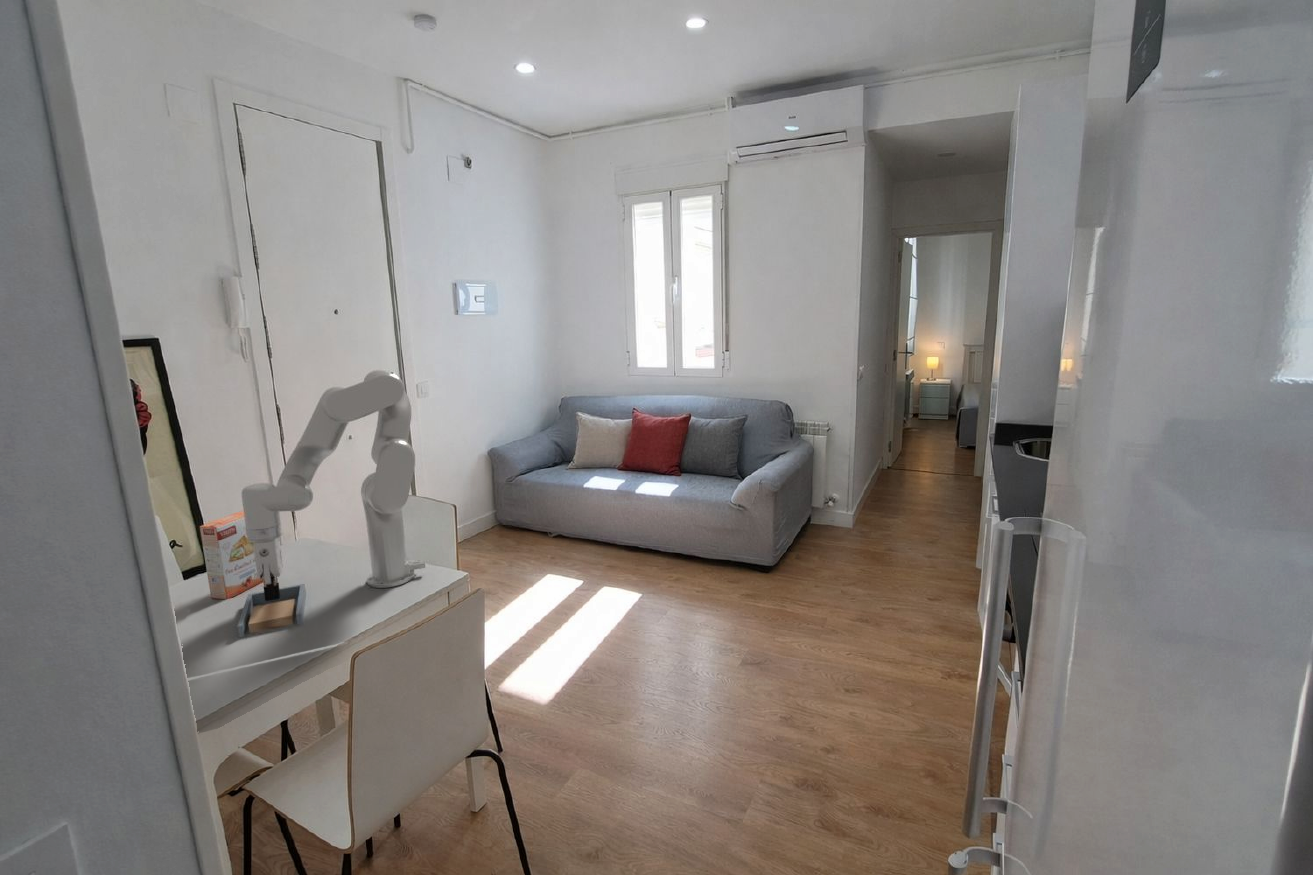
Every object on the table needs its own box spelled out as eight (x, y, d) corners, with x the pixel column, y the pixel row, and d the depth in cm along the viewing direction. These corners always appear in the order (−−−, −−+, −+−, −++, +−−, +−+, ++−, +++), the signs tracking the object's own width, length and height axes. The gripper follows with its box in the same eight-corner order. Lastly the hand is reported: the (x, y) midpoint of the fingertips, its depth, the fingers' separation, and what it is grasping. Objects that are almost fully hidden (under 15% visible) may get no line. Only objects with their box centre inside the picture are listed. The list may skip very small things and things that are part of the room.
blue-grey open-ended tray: (306, 595, 167) (304, 583, 166) (302, 626, 150) (300, 613, 149) (250, 606, 161) (248, 594, 160) (239, 639, 144) (237, 626, 144)
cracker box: (229, 600, 164) (216, 527, 160) (210, 599, 165) (197, 526, 161) (271, 578, 178) (260, 510, 173) (253, 577, 179) (242, 509, 175)
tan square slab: (295, 607, 159) (294, 598, 158) (293, 624, 150) (291, 615, 149) (255, 615, 155) (253, 606, 154) (249, 633, 146) (248, 624, 145)
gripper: (278, 538, 151) (287, 607, 154) (283, 521, 164) (291, 585, 167) (242, 543, 147) (252, 614, 151) (250, 525, 160) (259, 590, 164)
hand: (272, 598), depth 159 cm, fingers closed
